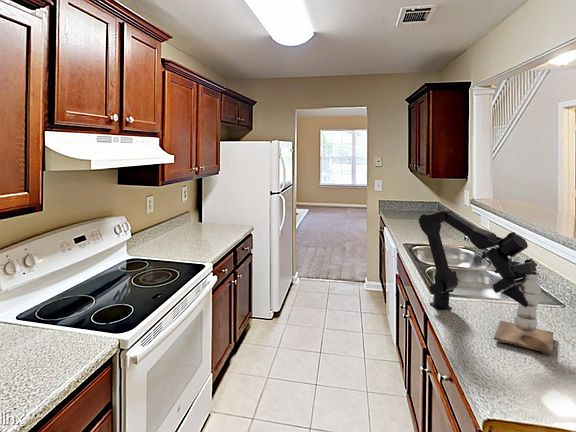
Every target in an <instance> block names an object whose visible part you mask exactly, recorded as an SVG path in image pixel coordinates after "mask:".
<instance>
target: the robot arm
mask: <svg viewBox="0 0 576 432" xmlns="http://www.w3.org/2000/svg"><path fill="white" fill-rule="evenodd" d="M444 222H445V223H446V224H448V225H449V226H451V227H452V228H453V229H456V230H457V231H459V232H460V233H462V234H463V235H465V236H466V237H467V238H468V240H469V241H470V243H471V244H473V246H474V247H476V249H478V250H483V251H482V254H481V257H480V258H481V260H485V259H488V260H489V262H490V263H491V264H492V266H493V267H494V269H495V270H493V272H494V273H495V274H498V275H499V276H500V277H501V279H500V280H498V281H497V282H495V283H494V284H492V287H491V288H492V290H493V291H494V293H495V294H498V293H501V294H502V295H505V296H507V297H509V298H510V299H512V300H513V301H515V302H517V303H520V304H521V305H523V306H524V307H526V306H528V304H527V302H526V300H525V298H524V297H523V295H522V293H521V292H520V290H519V287H520V283H521V282H522V281H523V280H524V279H525V278H524V276H525V273H531V272H535V273H537V266H538V264H537V263H536V261H534V260H533V258H529V259H525V260H524V262H523V263H518V262H517V261H516V260H513V261H512V260H511V258H513V257H515V256H517V255H519V253H521V252H523V251H524V250H526V249H528V247H529V245H528V243H527V240H526V239H525V238H523V237H522V236H520V235H519V234H517V233H516V232H515V231H510V233H508V234H506V236H505V237H503V238H502V237H499V236H497V235H496V233H494V232H492V231H490V230H488V229H484V228H480V227H477V226H475V225H474V224H472V223H470V222H468V221H467V220H466V219H464V218H462V217H460V216H459V215H457V214H456V213H454V212H453V210H449V209H446V210H441V211H438V212H435V213H426V214H425V213H424V214H422V215H420V217H419V219H418V224H419V227H420V229H421V231H422V232H423V234H425V236H426V237H427V240H428V244H429V248H430V251H431V255H432V259H433V263H434V267H435V274H434V283H433V284H431V285H430V286H429V287H428V290H429V292H430V293H431V294H433V295H432V296H433V298H432V299H433V300H432V301H431V302H429V305H431V306H432V307H433V308H434V309H435V310H451V309H452V308H453V307H452V306H451V305H450V293H453V292H454V290H455V289H457V287H458V285H459V279H458V276H457V271H456V270H453V271H452V270H451V268H450V266H449V263H448V261H447V256H446V252H445V249H444V245H443V241H442V237H441V234H440V232H441V228H442V223H444ZM487 249H489V250H488V251H487ZM510 257H511V258H510ZM538 278H539V275H538ZM502 290H503V291H502Z"/></svg>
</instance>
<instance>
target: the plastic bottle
mask: <svg viewBox="0 0 576 432" xmlns="http://www.w3.org/2000/svg"><path fill="white" fill-rule="evenodd" d="M535 272H536V271H535ZM535 272H531V273H525V276H524V278H525V279H524V280H523V281H522V282H521V283H520V287H519V290H520V292H521V293H522V295H523V297H524V298H525V300H526V302H527V304H528V306H526V307H524V306H523V305H521V304H520V303H518V302H517V303H518V305H517V310H516V312H515V313H516V314H515V316H514V320H513V321H514V322H513V323H514V324H515V326H516V328H518V329H520V330H522V331H526V332H533V331H534V330H535V329H536V328H537V327H538V326H537V325H538V321H537V316H538V315H537V309H538V304H539V301H540V297H541V293H542V288H541V285H540V284H539V282H538V278H539V277H538V276H539V273H537V272H536V273H535Z"/></svg>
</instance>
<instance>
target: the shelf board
mask: <svg viewBox="0 0 576 432" xmlns="http://www.w3.org/2000/svg"><path fill="white" fill-rule="evenodd" d="M493 340H496V341H498V343H499V344H504V343H506V344H511V345H514V346H517V347H522V348H525V349H526V348H527V349H529V350H535V351H538V352H540V353H541V354H543V355H548V354H551V355H553V347H554V345H553V343H554V331H551V330H550V331H549V330H544V329H541V328H537V327H536V329H535V330H534V331H533V332H526V331H522V330H520V329H518V328H516V326H515V324H514V322H510V321H506V320H500V321H499V324H498V326H497V329H496V331H495V334H494V336H493Z"/></svg>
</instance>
